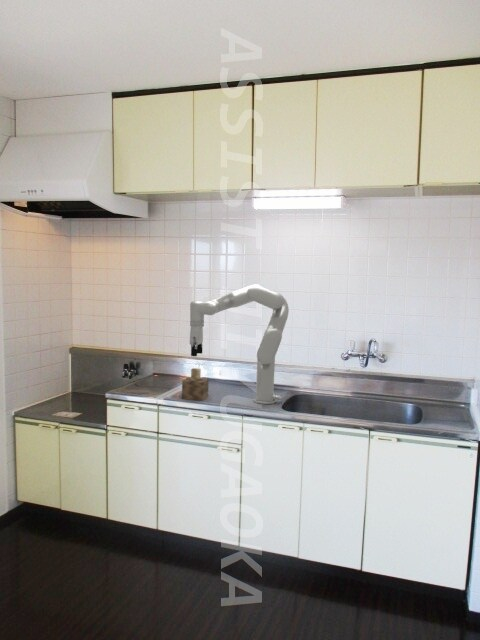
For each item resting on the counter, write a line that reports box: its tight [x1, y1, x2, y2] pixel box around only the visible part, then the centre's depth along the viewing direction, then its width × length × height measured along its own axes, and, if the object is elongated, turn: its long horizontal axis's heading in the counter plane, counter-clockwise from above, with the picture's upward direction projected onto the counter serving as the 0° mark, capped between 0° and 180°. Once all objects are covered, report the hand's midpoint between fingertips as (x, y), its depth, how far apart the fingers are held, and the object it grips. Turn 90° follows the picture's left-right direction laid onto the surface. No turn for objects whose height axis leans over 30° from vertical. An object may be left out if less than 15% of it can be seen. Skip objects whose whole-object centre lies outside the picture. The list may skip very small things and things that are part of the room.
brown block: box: [181, 376, 210, 401], centre depth 286 cm, size 12×10×10 cm
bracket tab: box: [190, 367, 202, 381], centre depth 285 cm, size 4×3×9 cm
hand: (196, 354), depth 284 cm, fingers open, 9 cm apart
